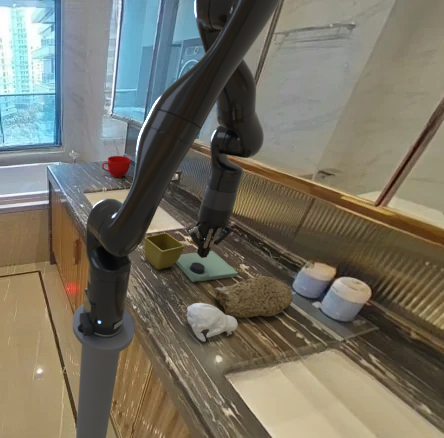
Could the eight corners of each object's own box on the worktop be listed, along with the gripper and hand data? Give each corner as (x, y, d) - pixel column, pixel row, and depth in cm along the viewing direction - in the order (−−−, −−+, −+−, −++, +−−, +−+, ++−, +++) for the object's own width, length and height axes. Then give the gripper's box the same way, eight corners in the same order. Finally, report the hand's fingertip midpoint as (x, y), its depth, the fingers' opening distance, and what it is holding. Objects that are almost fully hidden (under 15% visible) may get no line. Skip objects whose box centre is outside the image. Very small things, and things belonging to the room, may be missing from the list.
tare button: (194, 274, 84) (196, 270, 83) (187, 267, 87) (189, 262, 86) (205, 273, 85) (207, 268, 84) (198, 266, 88) (199, 261, 87)
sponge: (231, 329, 72) (315, 316, 70) (230, 303, 69) (317, 289, 67) (206, 299, 84) (276, 287, 82) (205, 276, 82) (277, 264, 80)
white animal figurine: (189, 296, 68) (236, 297, 69) (178, 321, 72) (223, 322, 73) (202, 317, 62) (253, 318, 63) (190, 343, 66) (238, 343, 67)
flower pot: (161, 253, 98) (166, 231, 94) (179, 268, 91) (185, 245, 87) (140, 259, 95) (144, 236, 91) (157, 275, 88) (162, 251, 84)
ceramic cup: (96, 174, 169) (97, 157, 165) (121, 171, 174) (123, 155, 169) (106, 181, 159) (107, 164, 154) (133, 178, 163) (135, 161, 158)
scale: (191, 285, 84) (193, 277, 83) (168, 259, 95) (169, 251, 94) (239, 279, 86) (243, 271, 85) (211, 253, 98) (213, 246, 96)
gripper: (203, 211, 71) (188, 266, 79) (250, 207, 73) (231, 261, 81) (186, 199, 77) (174, 251, 86) (229, 195, 79) (214, 246, 87)
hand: (202, 256), depth 83 cm, fingers closed
